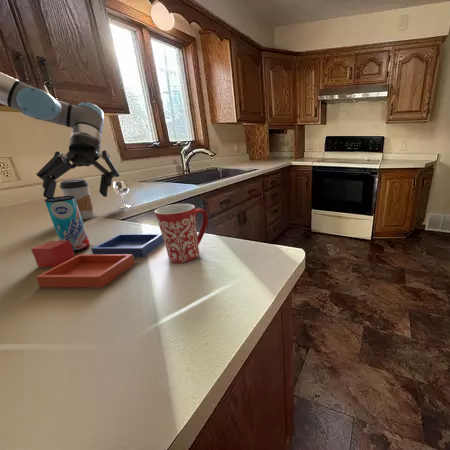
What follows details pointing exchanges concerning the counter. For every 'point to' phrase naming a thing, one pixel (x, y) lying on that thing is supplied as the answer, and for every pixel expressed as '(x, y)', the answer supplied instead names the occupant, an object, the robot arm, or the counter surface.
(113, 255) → the red tray
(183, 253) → the mug
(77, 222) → the beverage can
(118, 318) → the counter surface
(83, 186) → the coffee cup
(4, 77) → the robot arm
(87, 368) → the counter surface
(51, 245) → the red block
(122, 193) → the wineglass
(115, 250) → the blue tray
